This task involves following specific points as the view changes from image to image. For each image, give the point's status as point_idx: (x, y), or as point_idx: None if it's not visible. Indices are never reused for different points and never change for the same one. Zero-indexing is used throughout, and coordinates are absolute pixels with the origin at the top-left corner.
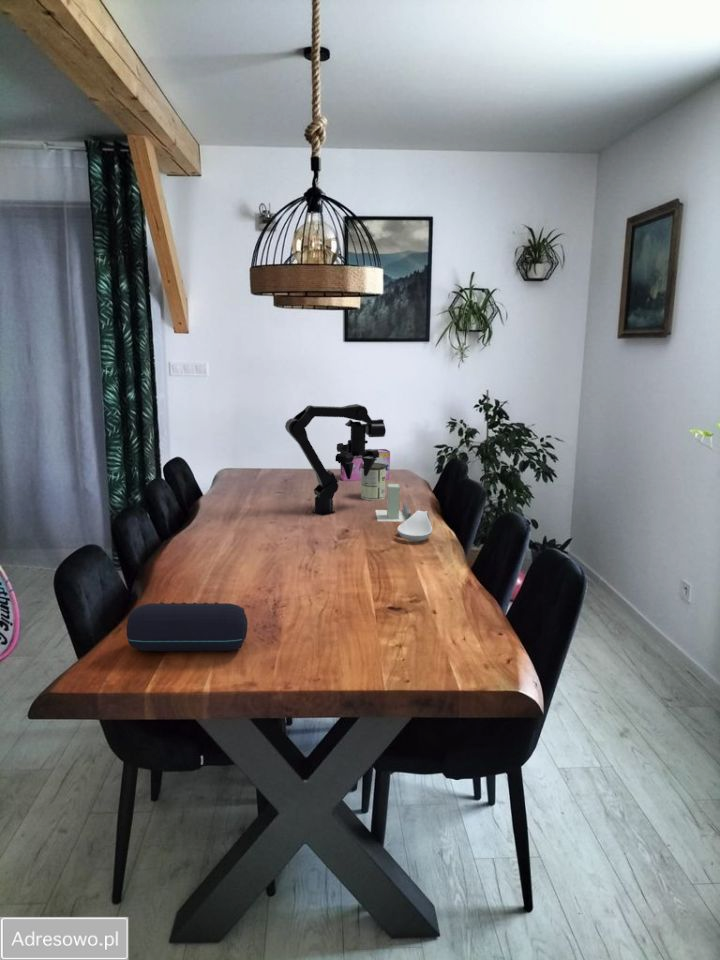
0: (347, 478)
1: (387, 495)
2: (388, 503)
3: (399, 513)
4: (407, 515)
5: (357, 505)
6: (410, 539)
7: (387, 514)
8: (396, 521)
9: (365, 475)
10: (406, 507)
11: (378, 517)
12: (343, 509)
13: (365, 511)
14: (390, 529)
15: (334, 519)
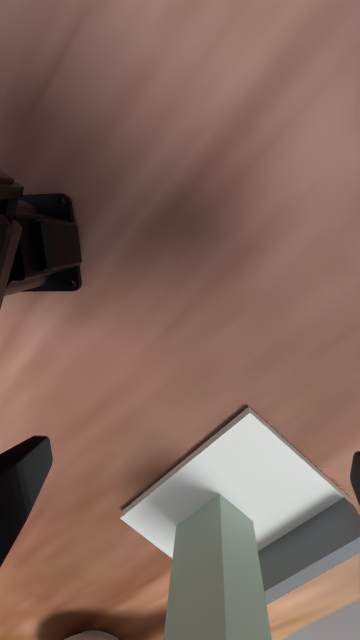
0: (30, 440)
1: (222, 607)
2: (167, 607)
3: (281, 514)
4: None
5: (288, 252)
6: None
7: (194, 522)
8: None
9: (354, 478)
10: (289, 583)
11: (161, 492)
12: (160, 266)
13: (220, 369)
14: (107, 571)
15: (14, 368)
